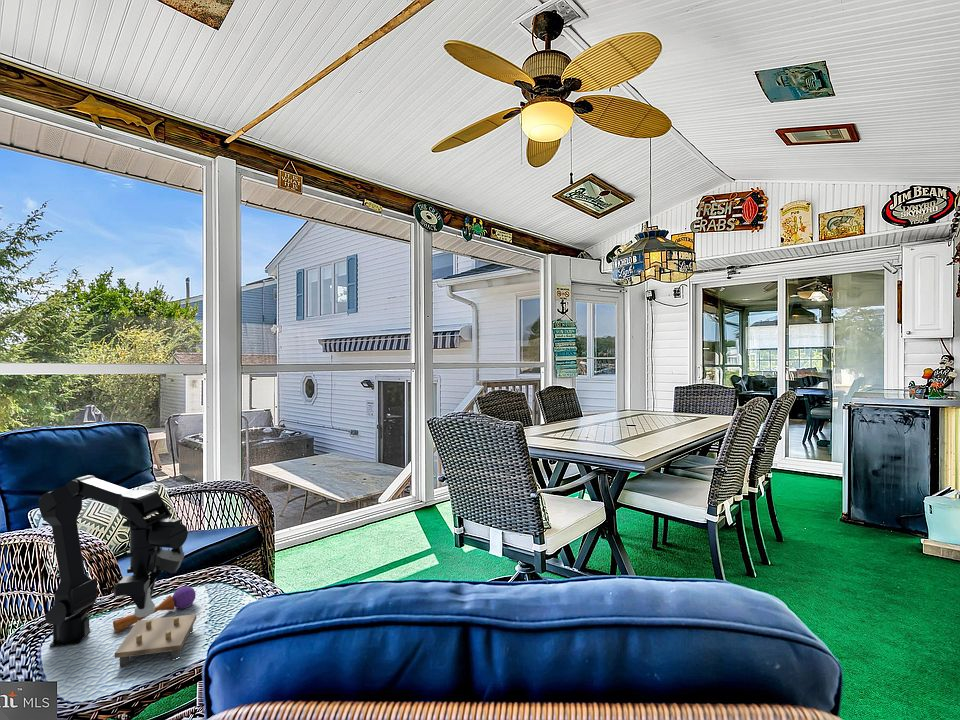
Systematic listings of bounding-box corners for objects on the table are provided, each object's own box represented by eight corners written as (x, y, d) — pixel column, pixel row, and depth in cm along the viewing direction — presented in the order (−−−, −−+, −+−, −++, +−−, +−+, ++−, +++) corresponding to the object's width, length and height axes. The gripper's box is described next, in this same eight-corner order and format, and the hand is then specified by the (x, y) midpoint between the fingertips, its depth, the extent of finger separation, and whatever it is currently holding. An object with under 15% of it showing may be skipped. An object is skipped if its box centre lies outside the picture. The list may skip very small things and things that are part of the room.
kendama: (110, 613, 136) (189, 581, 152) (113, 635, 136) (192, 600, 152) (116, 618, 133) (197, 584, 148) (120, 640, 133) (200, 604, 148)
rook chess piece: (141, 608, 128) (140, 578, 128) (159, 608, 128) (158, 577, 128) (129, 618, 124) (129, 586, 123) (148, 618, 124) (148, 586, 123)
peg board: (114, 669, 120) (114, 647, 120) (137, 635, 133) (137, 615, 133) (180, 660, 124) (180, 639, 123) (196, 628, 137) (196, 608, 137)
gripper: (166, 557, 118) (167, 621, 119) (191, 527, 136) (192, 583, 137) (112, 561, 115) (113, 627, 116) (145, 530, 133) (146, 587, 134)
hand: (144, 604), depth 126 cm, fingers closed on rook chess piece, 3 cm apart
